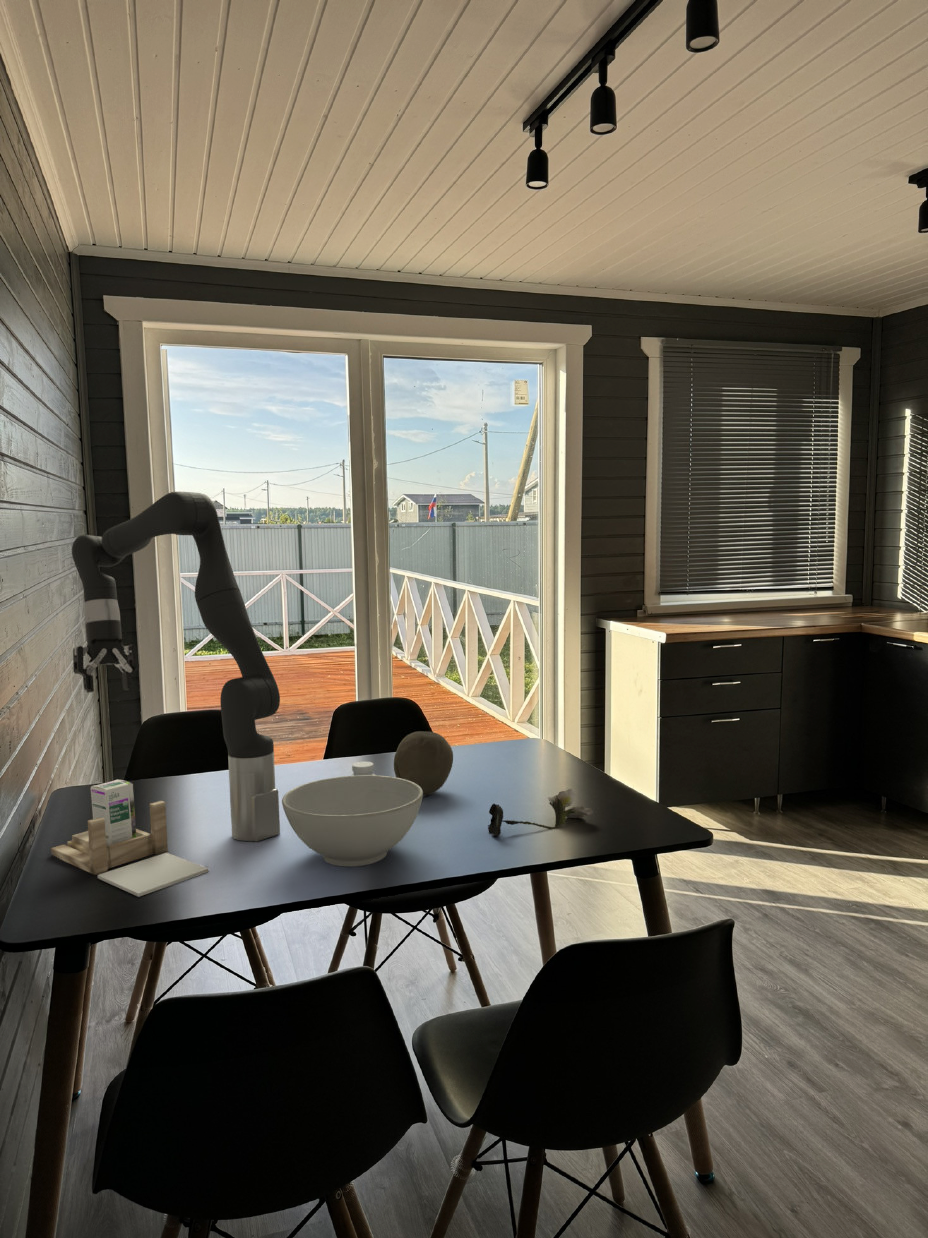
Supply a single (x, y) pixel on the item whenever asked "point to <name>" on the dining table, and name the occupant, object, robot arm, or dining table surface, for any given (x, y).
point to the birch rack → (117, 844)
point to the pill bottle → (362, 768)
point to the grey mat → (152, 874)
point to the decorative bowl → (353, 816)
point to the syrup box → (115, 809)
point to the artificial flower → (556, 802)
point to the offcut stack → (78, 841)
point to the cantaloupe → (424, 760)
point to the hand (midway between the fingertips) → (109, 691)
